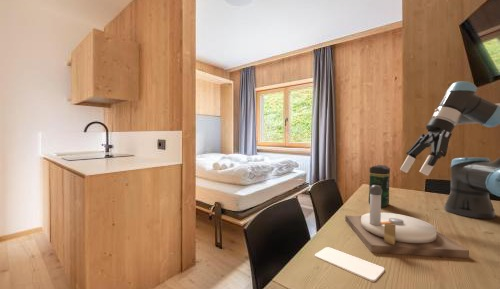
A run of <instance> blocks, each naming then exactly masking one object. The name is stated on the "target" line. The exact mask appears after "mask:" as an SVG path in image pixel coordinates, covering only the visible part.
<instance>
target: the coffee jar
mask: <svg viewBox="0 0 500 289" xmlns="http://www.w3.org/2000/svg"><path fill="white" fill-rule="evenodd" d="M390 172H391V168H390V167H389V166H387V165H384V164H377V165H373V166H371V167H369V172H368V174H369V183H368V184H369V187H368V189H369V188H370V187H371V186H372V185H378V186H380V187H381V189H382V194H381V207H383V208H385V207H388V206H389V205H390V176H391V173H390ZM368 205H370V192H369V191H368Z"/></svg>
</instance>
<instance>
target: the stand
mask: <svg viewBox="0 0 500 289" xmlns="http://www.w3.org/2000/svg"><path fill="white" fill-rule="evenodd" d="M361 216H362V215H345V218H344V219H345V222H346V223H347V225H348V226H349V227H350V228H351V229H352V230H353V232H354V233H355V234H356V236H357V237H358V238H359V239H360V240H361V241H362V243H363V244H364V245H365V247H366V248H367V249H368V251H369V252H371V253H372V254H373V253H376V254H377V253H378V254H389V255H390V254H394V255H408V256H409V255H411V256H426V257H443V258H444V257H445V258H446V257H447V258H458V259H459V258H462V259H463V258H465V259H469V258H470V250H469V249H467V248H466V247H464V246H462V245H460V244H459V243H457V242H456V241H454V240H452V239H450V238H449V237H447V236H445V235H443V234H442V233H440V232H438V231H437V234H436V240H435V241H433V242H429V243H407V242H400V241H395V226H396V225H393V224H388V223H385V228H384V238H383V237H380V236H378V235H375V234H373V233H371V232H369V231H367V230H365V229H364V228H363V227H362V225H361Z"/></svg>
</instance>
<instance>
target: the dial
mask: <svg viewBox="0 0 500 289" xmlns="http://www.w3.org/2000/svg"><path fill="white" fill-rule="evenodd" d="M369 192H370V204H369V212H367V213H364V214H362V215H360V216H361V225H362V227H363V228H364V229H365V230H367V231H369V232H371V233H373V234H375V235H378V236H380V237H383V238H384V228H385V223H388V224H393V225H396V226H395V241H400V242H407V243H429V242H433V241H435V240H436V234H437V232H438V231H437V228H436V227H435V226H434V225H432V224H431V223H429V222H427V221H424V220H423V219H419V218H417V217H413V216H408V215H404V214H398V213H393V212H382V206H381V194H382V189H381V187H380V186H378V185H372V186H371V187H370V188H369V187H368V193H369Z"/></svg>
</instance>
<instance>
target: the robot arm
mask: <svg viewBox="0 0 500 289" xmlns="http://www.w3.org/2000/svg"><path fill="white" fill-rule="evenodd" d="M477 89H478V87H477V86H476V84H474V83H472V82H470V81H466V80H465V81H463V80H462V81H461V80H460V81H459V80H458V81H456V82H452V84H451V85H450V86H449V87H448V89H447V90H446V92H445V93H444V95H443V97H442V99H441V100H440V102H439V104H438V106H437V107H436V108H435V109H434V112H433V114H432V116H431V119H429V121H428V122H427V124H426V126H425V129H426V130H427V131H428V132H426V134H424V133H421V134H420V136H419V137H418V139H417V140H416V141H415V142H414V144H413V145H412V146H411V147H410V148H408V150H407V151H406V152H405V154H406V155H407V157H406V158H405V159H404V161H403V164H402V165H401V166H400V168H399V170H400V171H402V172H403V173H405V174H407V173H409V171H410V169H411V167H412V166H413V165H414V162H415V161H416V160H417V156H418V155H420V154H421V153H422V152H423V151H425V149H426V148H430V147H431V148H430V151H431V152H429V153H428V155H427V157H426V159H425V161H424V163H423V164H422V166H421V168H420V170H419V173H420V174H423V175H424V176H427V177H429V175H430V174H431V172H432V170H433V168H434V167H435V165H436V163H437V162H438V160H440V159H441V158H442V157H443V158H444V157H446V156H447V152H448V147H449V142H450V139H451V137H452V134H453V133H452V132H453V130H454V129H455V126H457V125H469V124H480V125H481V126H484V127H486V128H495V127H498V126H499V125H500V102H498V103H494V102H491V101H489V100H488V99H485V98H483V97H481V96H479V95H478V94H477V91H478V90H477ZM449 192H450V193H449V194H448V196H447V199H446V202H445V204H444V210H446V211H447V212H448V213H449V212H450V213H452V214H455V215H459V216H462V217H463V216H464V217H467V218H468V217H469V218H475V219H487V220H489V219H495V218H496V210H495V209H494V206H493V203H492V201H491V199H490V194H491V195H495V196H497V197H499V198H500V156H499V157H498V158H496V159H494V160H493V161H491V159H490V158H489V157H456V158H453V159H452V160H451V163H450V191H449Z"/></svg>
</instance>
